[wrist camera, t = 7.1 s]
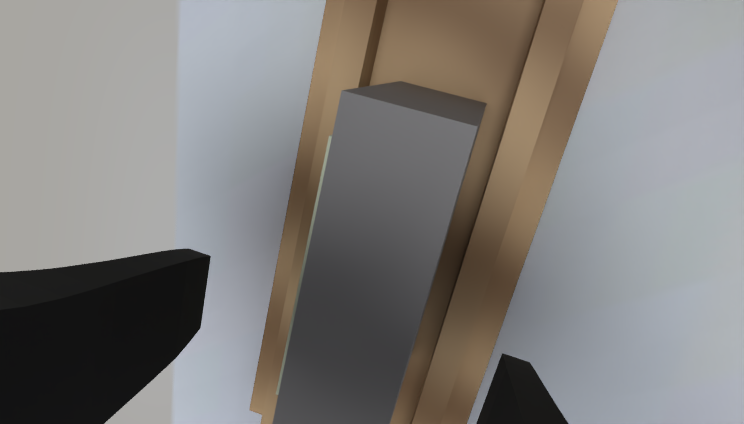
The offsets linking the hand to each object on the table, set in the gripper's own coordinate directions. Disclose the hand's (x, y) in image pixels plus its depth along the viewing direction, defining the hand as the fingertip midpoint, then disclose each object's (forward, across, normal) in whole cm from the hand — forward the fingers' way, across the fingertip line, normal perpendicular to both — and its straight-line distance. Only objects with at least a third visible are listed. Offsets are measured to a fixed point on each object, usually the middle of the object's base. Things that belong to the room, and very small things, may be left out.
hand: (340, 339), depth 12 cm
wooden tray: (+9, 0, 0) cm, 9 cm away
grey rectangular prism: (+8, 0, 0) cm, 8 cm away
